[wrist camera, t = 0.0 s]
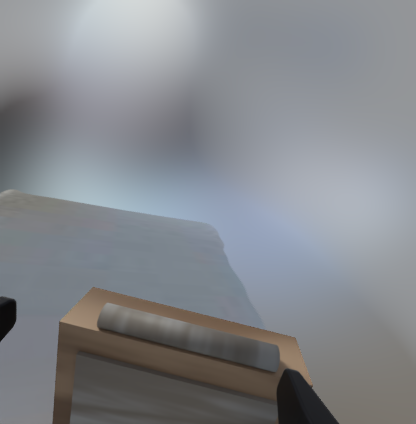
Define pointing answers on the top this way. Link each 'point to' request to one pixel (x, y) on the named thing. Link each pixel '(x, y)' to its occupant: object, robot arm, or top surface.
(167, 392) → the tan flat boxy piece
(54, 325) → the top surface
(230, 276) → the top surface
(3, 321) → the robot arm
